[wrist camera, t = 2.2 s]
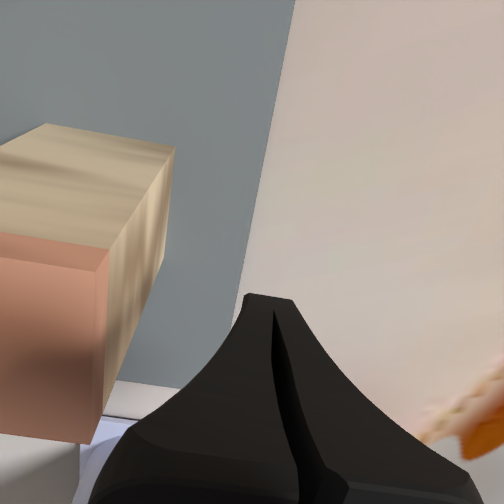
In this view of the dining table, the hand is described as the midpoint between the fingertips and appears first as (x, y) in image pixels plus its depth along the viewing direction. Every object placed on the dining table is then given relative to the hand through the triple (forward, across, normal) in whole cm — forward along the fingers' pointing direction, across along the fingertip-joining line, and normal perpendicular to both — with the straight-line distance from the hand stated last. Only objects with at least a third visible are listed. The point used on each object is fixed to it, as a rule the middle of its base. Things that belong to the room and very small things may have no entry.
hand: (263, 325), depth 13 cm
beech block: (+7, +6, 0) cm, 10 cm away
